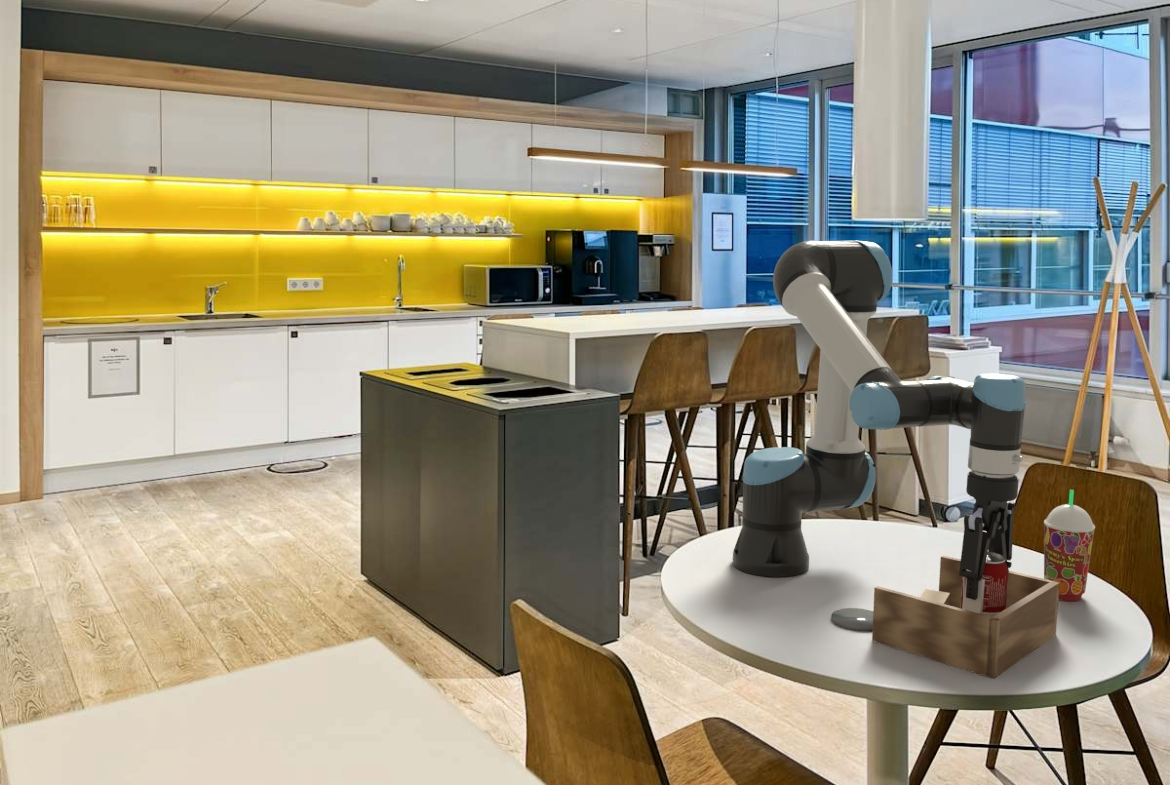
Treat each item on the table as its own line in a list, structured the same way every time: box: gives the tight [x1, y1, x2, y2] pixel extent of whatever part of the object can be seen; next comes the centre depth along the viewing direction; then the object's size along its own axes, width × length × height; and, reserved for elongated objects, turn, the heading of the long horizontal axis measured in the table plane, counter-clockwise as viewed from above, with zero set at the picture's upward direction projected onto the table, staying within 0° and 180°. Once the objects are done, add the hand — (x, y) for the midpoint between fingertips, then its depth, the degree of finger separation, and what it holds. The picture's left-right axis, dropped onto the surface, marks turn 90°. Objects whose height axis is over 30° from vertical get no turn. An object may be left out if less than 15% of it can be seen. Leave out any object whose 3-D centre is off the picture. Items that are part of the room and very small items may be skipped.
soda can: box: [960, 552, 1010, 617], centre depth 158 cm, size 7×7×12 cm
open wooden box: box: [871, 555, 1060, 679], centre depth 161 cm, size 20×24×9 cm
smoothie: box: [1043, 489, 1096, 602], centre depth 179 cm, size 8×8×20 cm
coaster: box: [830, 607, 873, 632], centre depth 169 cm, size 9×9×1 cm
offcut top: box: [919, 588, 950, 605], centre depth 165 cm, size 4×6×3 cm, turn 151°
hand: (982, 610), depth 159 cm, fingers closed on soda can, 7 cm apart
